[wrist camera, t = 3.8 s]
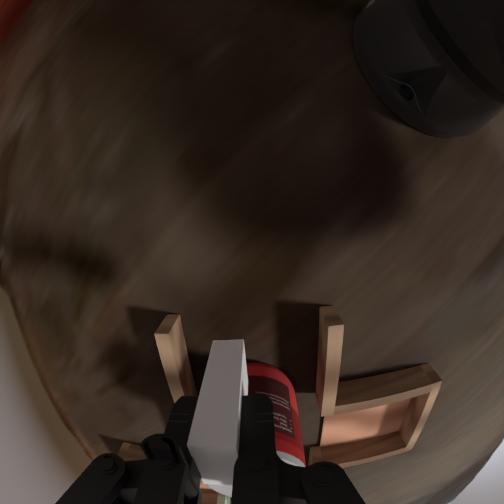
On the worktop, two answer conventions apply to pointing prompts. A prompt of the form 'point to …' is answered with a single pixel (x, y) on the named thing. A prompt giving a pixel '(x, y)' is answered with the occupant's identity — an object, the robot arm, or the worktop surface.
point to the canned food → (276, 414)
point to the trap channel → (326, 401)
